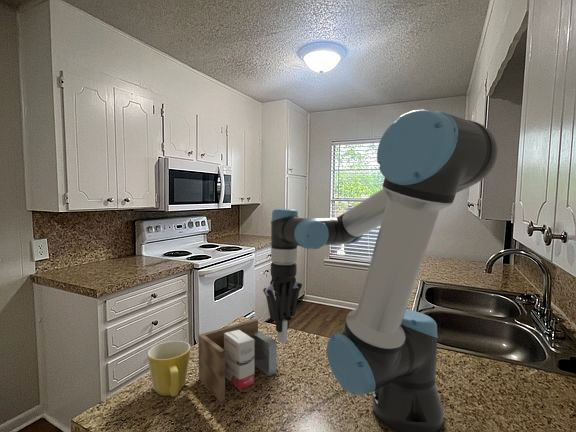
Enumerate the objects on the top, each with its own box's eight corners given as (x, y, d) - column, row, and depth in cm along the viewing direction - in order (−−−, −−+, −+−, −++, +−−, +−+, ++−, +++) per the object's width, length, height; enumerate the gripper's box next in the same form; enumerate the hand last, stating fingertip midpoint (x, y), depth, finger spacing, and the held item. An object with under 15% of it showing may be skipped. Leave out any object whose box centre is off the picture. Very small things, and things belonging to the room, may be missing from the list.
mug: (150, 381, 84) (150, 342, 84) (190, 375, 87) (190, 338, 87) (142, 414, 71) (142, 369, 71) (190, 406, 74) (190, 363, 74)
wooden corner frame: (280, 379, 86) (281, 332, 85) (220, 406, 74) (220, 352, 74) (255, 361, 95) (255, 319, 94) (198, 383, 84) (198, 334, 83)
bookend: (276, 373, 87) (276, 341, 86) (268, 376, 85) (269, 343, 85) (259, 361, 93) (259, 331, 92) (252, 364, 91) (252, 333, 91)
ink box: (255, 383, 82) (255, 338, 81) (238, 390, 79) (238, 344, 78) (238, 369, 89) (239, 328, 88) (222, 375, 86) (222, 332, 85)
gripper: (292, 257, 99) (290, 331, 100) (257, 262, 91) (256, 342, 92) (309, 261, 93) (307, 339, 95) (273, 267, 85) (272, 353, 86)
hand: (282, 341), depth 93 cm, fingers closed
